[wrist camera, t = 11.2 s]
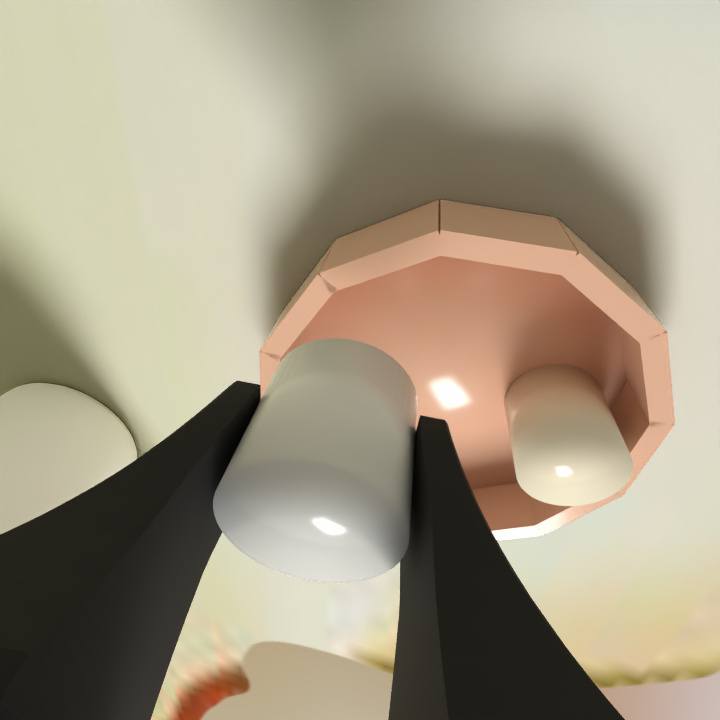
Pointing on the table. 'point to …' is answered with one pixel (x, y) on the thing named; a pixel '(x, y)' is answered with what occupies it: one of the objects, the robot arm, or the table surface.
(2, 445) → the mug
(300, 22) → the table surface
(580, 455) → the cream marshmallow
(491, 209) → the bowl
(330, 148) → the table surface
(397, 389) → the pale grey cylinder
